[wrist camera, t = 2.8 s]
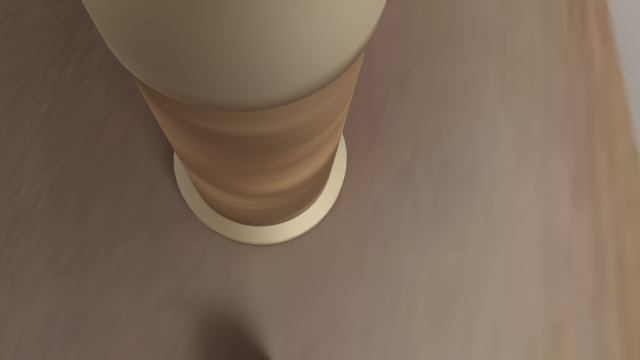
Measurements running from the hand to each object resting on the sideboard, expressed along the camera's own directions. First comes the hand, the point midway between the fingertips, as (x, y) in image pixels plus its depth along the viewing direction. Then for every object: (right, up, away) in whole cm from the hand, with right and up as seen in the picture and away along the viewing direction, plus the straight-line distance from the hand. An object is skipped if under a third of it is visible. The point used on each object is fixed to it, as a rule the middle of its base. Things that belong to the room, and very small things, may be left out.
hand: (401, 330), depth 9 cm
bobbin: (-3, +3, +14) cm, 14 cm away
